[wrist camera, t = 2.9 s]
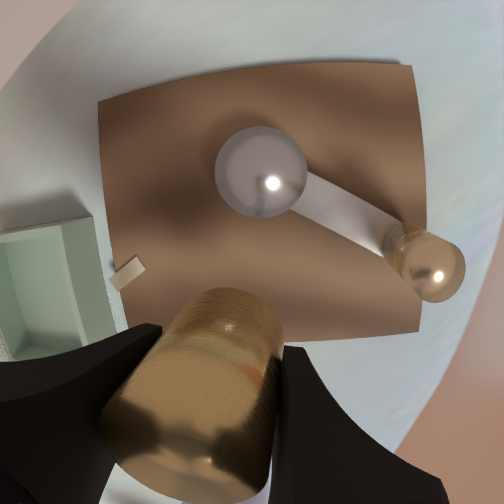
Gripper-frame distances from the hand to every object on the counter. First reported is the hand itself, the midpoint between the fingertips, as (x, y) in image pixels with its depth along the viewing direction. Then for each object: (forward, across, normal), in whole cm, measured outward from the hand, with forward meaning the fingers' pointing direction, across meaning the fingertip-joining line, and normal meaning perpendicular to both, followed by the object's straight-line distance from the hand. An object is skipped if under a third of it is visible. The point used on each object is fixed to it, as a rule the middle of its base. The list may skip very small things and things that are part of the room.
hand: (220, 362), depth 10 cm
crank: (+8, -3, -5) cm, 10 cm away
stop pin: (+2, 0, 0) cm, 2 cm away
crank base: (+9, 0, -4) cm, 10 cm away
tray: (+9, +16, +4) cm, 19 cm away
